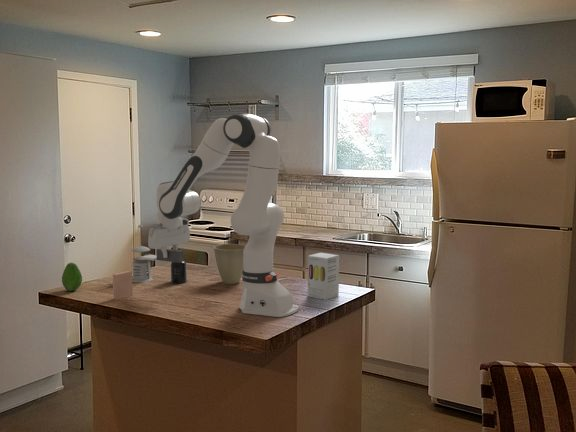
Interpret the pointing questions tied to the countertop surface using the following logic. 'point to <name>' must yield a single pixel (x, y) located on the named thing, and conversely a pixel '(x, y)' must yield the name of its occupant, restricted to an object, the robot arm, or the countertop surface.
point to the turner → (173, 257)
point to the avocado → (71, 277)
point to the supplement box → (323, 276)
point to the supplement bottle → (178, 272)
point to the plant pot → (229, 262)
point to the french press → (141, 265)
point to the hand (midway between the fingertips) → (169, 256)
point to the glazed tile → (122, 285)
